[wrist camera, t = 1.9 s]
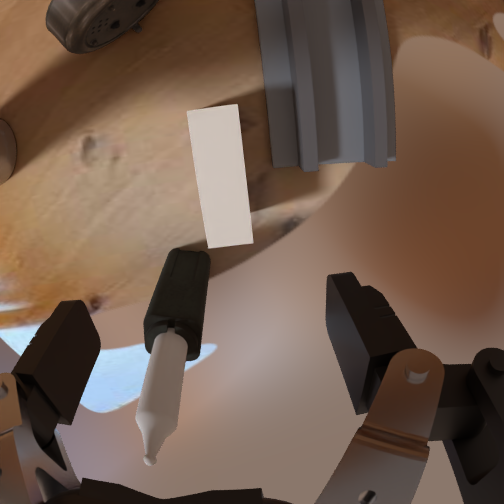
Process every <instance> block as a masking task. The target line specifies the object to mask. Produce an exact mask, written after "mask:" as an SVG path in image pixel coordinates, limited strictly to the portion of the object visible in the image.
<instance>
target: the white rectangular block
mask: <svg viewBox="0 0 504 504" xmlns="http://www.w3.org/2000/svg"><path fill="white" fill-rule="evenodd" d="M187 117H188V124H189V131H190V138H191V145H192V152H193V159H194V165H195V172H196V178H197V184H198V191H199V197H200V203H201V209H202V215H203V221H204V226H205V232H206V238H207V243H208V249H209V248H217V247H226V246H234V245H242V244H251V243H253V234H252V226H251V217H250V208H249V199H248V190H247V181H246V173H245V164H244V155H243V146H242V138H241V129H240V120H239V111H238V104H233V105H225V106H218V107H210V108H203V109H197V110H191V111H187Z"/></svg>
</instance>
